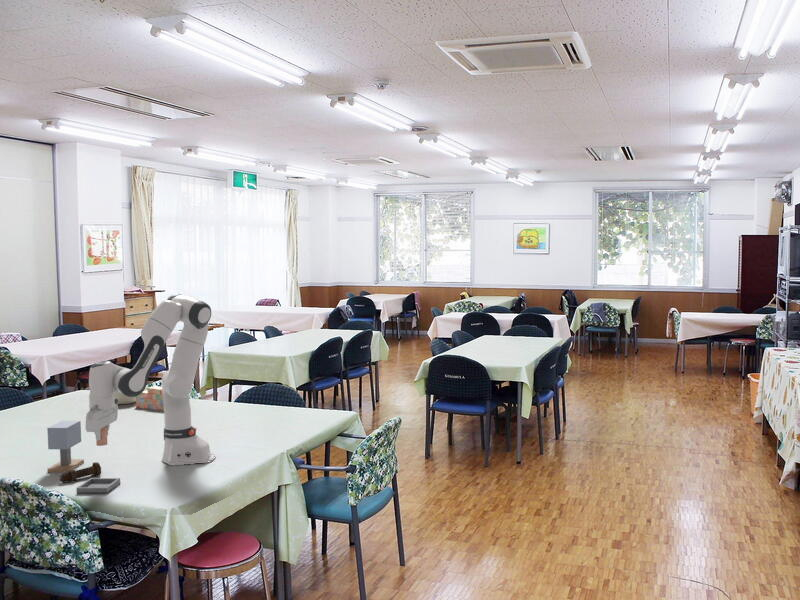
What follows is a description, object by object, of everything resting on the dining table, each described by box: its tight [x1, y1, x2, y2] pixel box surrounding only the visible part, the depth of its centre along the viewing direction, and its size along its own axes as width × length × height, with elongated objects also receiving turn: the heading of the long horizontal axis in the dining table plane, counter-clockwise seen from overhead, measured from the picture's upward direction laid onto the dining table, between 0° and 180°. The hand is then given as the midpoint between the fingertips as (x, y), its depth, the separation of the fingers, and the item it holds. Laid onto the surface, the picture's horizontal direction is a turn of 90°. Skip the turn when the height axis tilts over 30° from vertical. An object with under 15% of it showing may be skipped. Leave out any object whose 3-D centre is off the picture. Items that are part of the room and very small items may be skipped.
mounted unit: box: [46, 420, 85, 473], centre depth 301 cm, size 10×13×18 cm
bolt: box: [59, 462, 102, 483], centre depth 287 cm, size 6×5×15 cm
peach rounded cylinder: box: [95, 426, 108, 447], centre depth 281 cm, size 4×4×7 cm
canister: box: [114, 391, 136, 405], centre depth 427 cm, size 18×18×21 cm
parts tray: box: [76, 477, 121, 495], centre depth 275 cm, size 12×12×2 cm
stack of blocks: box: [135, 385, 164, 412], centre depth 413 cm, size 21×6×12 cm, turn 67°
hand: (102, 437), depth 281 cm, fingers closed on peach rounded cylinder, 4 cm apart
